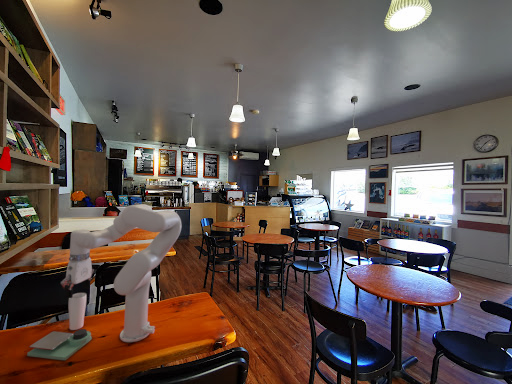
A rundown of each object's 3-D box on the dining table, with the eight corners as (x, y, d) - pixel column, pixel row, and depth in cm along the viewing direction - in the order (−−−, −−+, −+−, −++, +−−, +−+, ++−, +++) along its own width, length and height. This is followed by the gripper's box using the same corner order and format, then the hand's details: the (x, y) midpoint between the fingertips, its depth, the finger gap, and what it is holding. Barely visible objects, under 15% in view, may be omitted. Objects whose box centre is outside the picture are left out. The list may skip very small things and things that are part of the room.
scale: (94, 338, 103) (94, 331, 103) (66, 360, 90) (67, 353, 90) (59, 334, 105) (59, 327, 105) (27, 356, 91) (27, 348, 91)
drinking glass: (69, 333, 105) (71, 300, 105) (65, 327, 110) (66, 295, 109) (87, 327, 111) (88, 295, 111) (82, 321, 115) (83, 291, 115)
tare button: (88, 334, 102) (89, 329, 102) (80, 340, 97) (80, 335, 97) (79, 333, 102) (79, 328, 102) (70, 339, 98) (70, 334, 98)
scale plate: (74, 334, 101) (74, 333, 101) (52, 350, 91) (52, 349, 91) (53, 332, 101) (53, 331, 101) (28, 347, 92) (28, 346, 92)
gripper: (71, 263, 101) (68, 302, 101) (101, 252, 118) (99, 286, 118) (55, 261, 102) (52, 300, 102) (87, 251, 119) (85, 284, 119)
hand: (77, 292), depth 110 cm, fingers open, 9 cm apart
